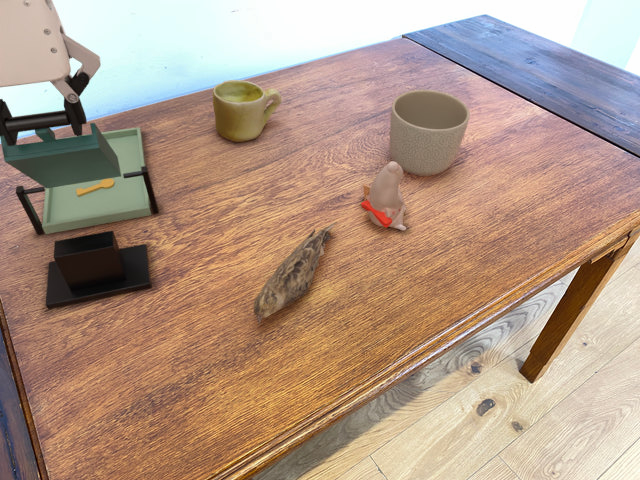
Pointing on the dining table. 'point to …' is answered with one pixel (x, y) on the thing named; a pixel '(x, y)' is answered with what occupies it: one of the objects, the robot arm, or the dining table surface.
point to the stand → (92, 259)
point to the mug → (242, 109)
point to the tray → (102, 191)
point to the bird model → (292, 275)
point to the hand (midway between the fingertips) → (46, 132)
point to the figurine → (386, 198)
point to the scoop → (59, 152)
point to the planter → (427, 130)
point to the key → (96, 187)
